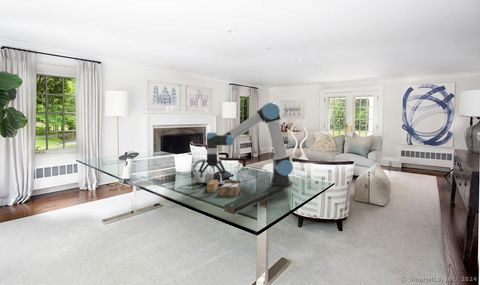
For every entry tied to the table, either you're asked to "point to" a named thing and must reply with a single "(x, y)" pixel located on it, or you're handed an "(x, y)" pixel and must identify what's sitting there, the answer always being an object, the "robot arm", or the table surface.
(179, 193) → the table surface
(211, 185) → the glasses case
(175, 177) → the table surface
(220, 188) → the stand
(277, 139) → the robot arm
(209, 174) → the headphones
